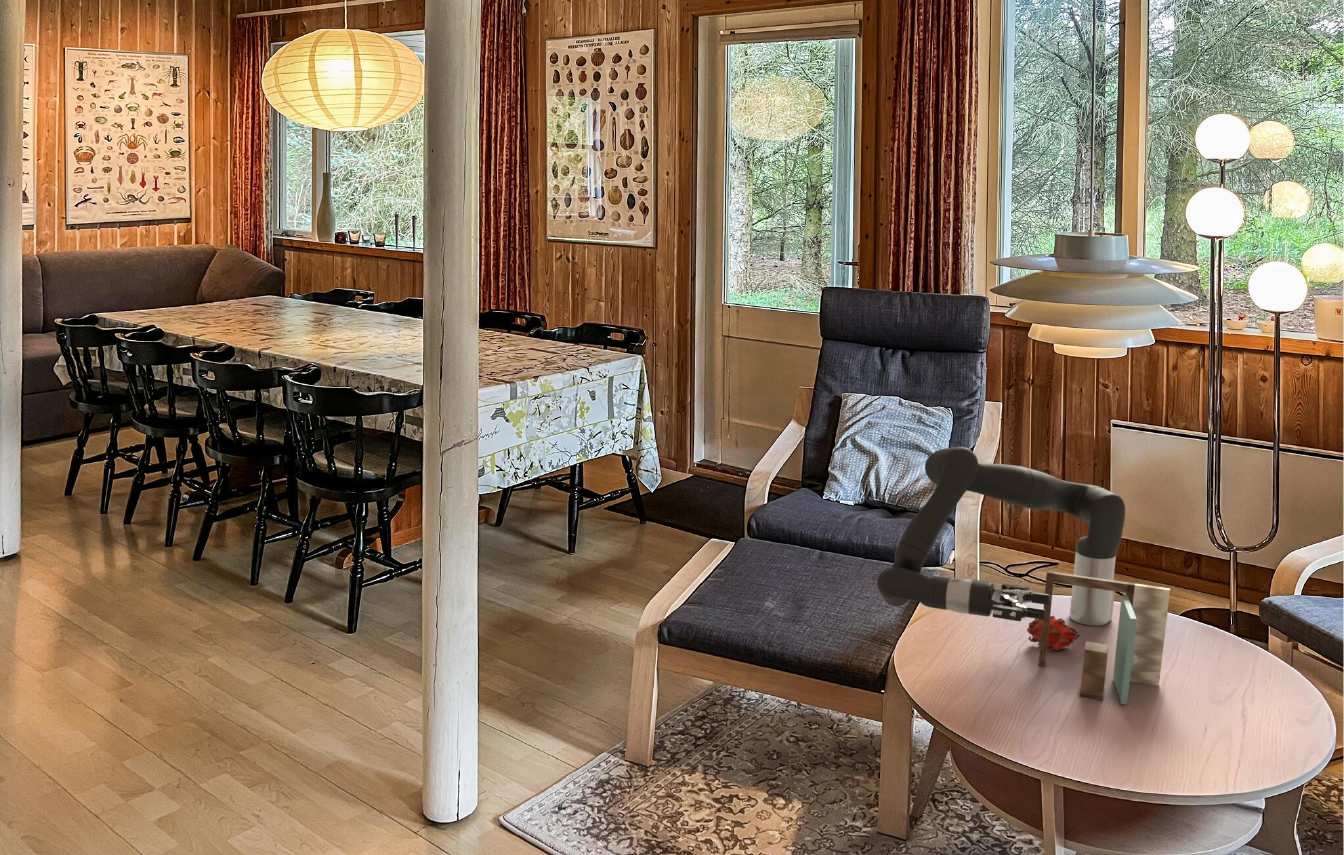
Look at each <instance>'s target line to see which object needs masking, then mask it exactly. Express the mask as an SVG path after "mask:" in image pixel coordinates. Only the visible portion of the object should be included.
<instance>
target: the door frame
mask: <svg viewBox="0 0 1344 855" xmlns="http://www.w3.org/2000/svg"><path fill="white" fill-rule="evenodd" d="M1045 576H1046V577H1045V588H1044V594H1049V595H1050V601H1049V604H1048V605H1045V604H1043V607H1042V608H1043V609H1045V618H1044V619H1042V630H1041V641H1040V646H1039V654H1038V663H1037V665H1038V666H1041V667H1046V664H1047V657H1048V656H1047V655H1048V651H1047V646H1048V635H1049V625H1050V616H1051V612H1052V604H1053V603H1052V602H1053V591H1054V583H1056V584H1064V585H1070V586H1073V585H1075V586H1082V587H1089V588H1096V589H1103V590H1109V591H1115V593H1116V592H1117V593H1123V594H1125V596H1128V598H1129V601H1130V603H1131V606H1132V608H1133V611H1134V614H1135V616H1136V619H1137V620H1136V629H1135V638H1134V647H1133V655H1137V662H1136V663H1132V665H1131V674H1130V682H1132V683H1133V682H1134V683H1138V684H1144V685H1145V684H1146V685H1149V686H1151V685H1152V686H1157V687H1159V685H1160V678H1161V671H1162V670H1161V669H1162V664H1163V663H1162V661H1163V653H1164V646H1165V645H1164V644H1165V637H1166V629H1167V620H1168V619H1167V618H1168V611H1169V603H1170V602H1169V601H1170V594H1171V592H1170V591H1171V588H1168V587H1161V586H1156V585H1155V586H1154V585H1148V584H1141V583H1133V582H1126V581H1121V580H1120V581H1119V580H1114V579H1113V580H1107V579H1100V578H1093V577H1086V576H1079V575H1074V574H1071V573H1064V572H1057V571H1050V570H1046V575H1045Z"/></svg>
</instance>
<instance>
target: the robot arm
mask: <svg viewBox="0 0 1344 855" xmlns="http://www.w3.org/2000/svg"><path fill="white" fill-rule="evenodd" d="M924 470H925V473H926V474H925V475H926V476H927V478H928V480H929V481H930V482H931V483H932V484H934V485H935V486H936V488H935V489H934V491H933V493H932V494H931V496H930V497H929V498H928V500H927V501H926V502H925V503H924V504H923V506H922V507H921V508H920V510H919V511H917V513H916V514H915V515H914V516H913V517H912V519H911V520H910V522H909V523H908V524H907V526H906V527H905V530H904V532H903V534H902V535H901V538H900V540H899V542H898V544H897V546H896V547H895V551H894V560H893V561H894V562H893V564H892V566H891V567H888V568H886V569H884V570H882V571H881V572H880V573H879V574H878V576H877V579H876V586H877V588H878V589H877V590H878V592H879V593H880V595H881V597H882V599H883V600H884V602H885V603H886V604H888V605H889V606H892V607H901V606H903V605H906V604H907V603H908V602H910V601H914V602H918V603H919V604H921V605H923V606H925V607H928V608H931V609H938V610H939V609H940V610H944V611H945V610H946V611H950V612H954V613H958V614H967V615H975V616H980V617H990V616H991V615H992V617H993V618H995V619H1002V620H1009V621H1015V622H1021V621H1022V619H1023V620H1024V619H1026V618H1029V619H1035V618H1036V619H1044V618H1045V609H1043V608H1044V607H1035V606H1029V605H1027V606H1026V605H1023V604H1027V603H1032V604H1039V605H1044V604H1045V605H1048V604H1049V601H1050V595H1049V594H1045V592H1043V593H1042V592H1034V591H1032V589H1030V586H1022V585H1015V584H1014V585H1012V584H1007V583H1006V584H1001V587H1000V588H1001V589H996V588H995V585H994V583H993V582H992V581H987V580H978V579H970V578H962V577H956V578H955V577H945V576H944V577H943V576H938V575H927V574H925V573H922V570H923V566H924V565H925V562H926V561H927V558H928V557H929V554H931V550H932V549H933V546H934V544H935V542H936V540H937V538H938V536H939V535H940V532H941V530H942V528H943V527H944V525H945V523H946V522H947V520H948V518H949V517H950V516H951V514H952V513H953V511H954V509H955V508H956V506H957V505H958V504H959V501H960V500H961V499H962V497H963V496H964V494H965V493H966V492H971V493H976V494H980V495H982V496H985V497H988V498H992V499H994V500H997V501H1001V502H1003V503H1004V502H1005V503H1008V504H1010V505H1013V506H1018V507H1021V508H1026V509H1030V510H1036V511H1037V510H1039V511H1040V510H1041V511H1042V510H1055V511H1056V510H1057V511H1060V512H1063V513H1065V514H1069V515H1071V516H1073V517H1075V518H1077V519H1080V520H1081V521H1083V522H1085V523H1087V524H1089V527H1088V532H1087V535H1086V536H1081V537H1080V538H1078V539H1077V541H1076V544H1075V545H1076V546H1075V547H1076V548H1075V556H1074V567H1073V568H1074V570H1073V575H1079V576H1086V577H1093V578H1100V579H1107V580H1114V575H1115V567H1116V566H1115V565H1116V558H1117V550H1118V549H1119V546H1120V545H1121V541H1122V537H1123V530H1124V526H1125V520H1126V519H1125V518H1126V505H1125V501H1124V500H1123V498H1122V497H1121V496H1120V495H1119V494H1116V492H1115V493H1114V492H1113V491H1110V490H1108V489H1105V488H1104V487H1101V486H1098V485H1095V484H1094V485H1093V484H1085V483H1079V482H1078V483H1076V482H1071V481H1066V480H1062V479H1060V478H1058V477H1055V476H1053V475H1051V474H1048V473H1046V472H1043V471H1039V470H1037V469H1036V470H1035V469H1033V468H1028V467H1026V466H1020V465H1014V464H1013V465H1012V464H1004V463H1003V464H1002V463H991V462H990V463H988V462H980V461H979V460H978V458H977V455H976V454H975V453H974V451H972V450H971V449H970V448H968V447H965V446H954V447H953V446H952V447H946V448H941V449H938V450H936V451H934V452H933V453H931V454H930V455H929V456H928V457H927V459H926V461H925V464H924ZM1115 594H1116V591H1109V590H1103V589H1096V588H1089V587H1082V586H1075V585H1072V588H1071V599H1070V608H1069V618H1070V619H1071V620H1072V621H1074V622H1075V623H1078V624H1082V625H1087V626H1094V627H1095V626H1096V627H1097V626H1105V625H1107V624H1108V623H1109V622H1110V621H1112V620H1113V612H1114V604H1115V603H1114V602H1115Z"/></svg>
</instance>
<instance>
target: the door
mask: <svg viewBox="0 0 1344 855" xmlns="http://www.w3.org/2000/svg"><path fill="white" fill-rule="evenodd" d="M1119 607H1120V610H1119V618H1118V628H1117V636H1116V637H1117V638H1116V646H1115V652H1114V653H1115V656H1114V665H1113V671H1112V672H1113V673H1112V674H1113V675H1112V678H1113V681H1114V682H1113V683H1114V684H1115V687H1116V688H1115V689H1116V692H1117V695H1118V698H1119V701H1120V704H1121V705H1128V701H1129V691H1130V690H1129V689H1130V684H1131V681H1130V674H1131V665H1132V663H1136V662H1137V655H1133V647H1134V638H1135V629H1136V620H1137V619H1136V616H1135V614H1134V611H1133V608H1132V606H1131V603H1130V601H1129V598H1128V596H1126V595H1122V594H1121V600H1120V606H1119Z"/></svg>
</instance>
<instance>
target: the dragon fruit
mask: <svg viewBox="0 0 1344 855" xmlns="http://www.w3.org/2000/svg"><path fill="white" fill-rule="evenodd" d="M1041 630H1042V619H1036V618H1034V620H1032V621H1031V622H1029V623H1028V627H1027V629H1026V631H1027V633H1028V634H1029V635H1030V636H1029V637H1028V641H1030V642H1031V643H1038V647H1040V641H1041ZM1079 638H1080V634H1079V631H1078V630H1077V629H1076V628H1075V627H1073V626H1070V625H1068V624H1066V621H1065V619H1063V617H1062V618H1060V617H1059V618H1056V617H1055V616H1054V615H1052V616H1051V615H1050V625H1049V635H1048V646H1047V652H1050V651H1051V650H1057V651H1059V652H1065V651H1069V648H1067V647H1069V646H1071V645H1072V644H1074V642H1075V641H1077V640H1078V639H1079Z"/></svg>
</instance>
